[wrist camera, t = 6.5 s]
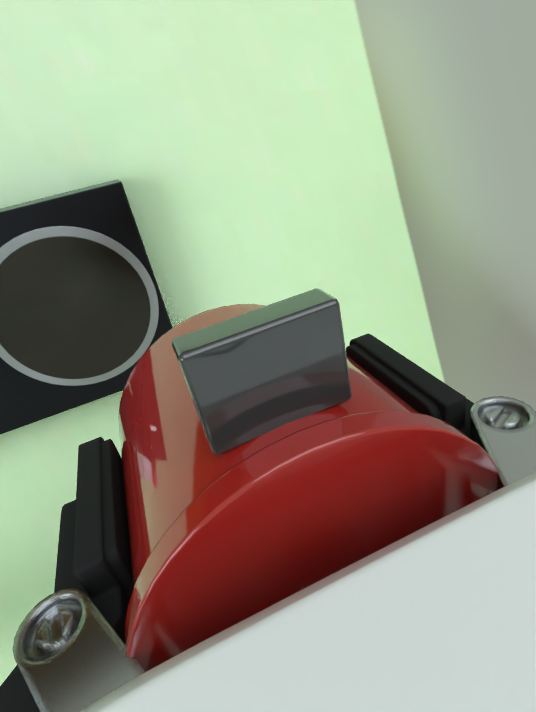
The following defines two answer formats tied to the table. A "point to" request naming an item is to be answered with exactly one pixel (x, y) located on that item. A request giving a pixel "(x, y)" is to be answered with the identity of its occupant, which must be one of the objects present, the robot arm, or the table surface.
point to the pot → (268, 468)
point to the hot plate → (90, 211)
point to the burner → (73, 306)
